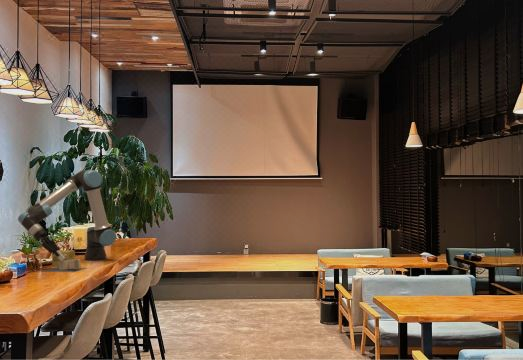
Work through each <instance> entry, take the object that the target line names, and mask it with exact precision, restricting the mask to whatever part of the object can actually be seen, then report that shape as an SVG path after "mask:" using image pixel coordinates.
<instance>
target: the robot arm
mask: <svg viewBox="0 0 523 360" xmlns="http://www.w3.org/2000/svg"><path fill="white" fill-rule="evenodd" d="M102 183H103V177H102V174H101V173H100V172H99V171H97V170H95V169H85V170H80V171H78V172H76V174H74V175H72V176H71V177H70V178H68V179H67V182H66V183H64V184H63V185H60V186H59V188H57V189H55V190H54V191H53V192H51V193H50V194H48V195H47V196H45V197H44V198H43V199H41V200H40V201H38V202H37V203H35V204H34V205H33V206H29V207H27V208H26V210H25V211H24V212H22V213H21V214H20V215H18V218H17V221H18V222H19V223H20V224H21V226H22V227H23V228H24V229H25V230H26V231H27V232H28V233H29V235H31V236H32V237H33V238H34V239H35V241H37V242H38V244H39V245H40V246H41V247H42V248H44V249H45V250H46V251H47V252H49V253H50V254H51V255H52V254H55V255H56V256H57V257H58V258H59V260H60V261H63V260H64V259H65V257H64V256H63V255H62V254H61V253H60V252H59V251H60V247H59V246H58V244H57V243H56V242H55V240H54V238H52V237H51V238H50V237H49V236H48V232H47V231H46V230H45V228H43V226H41V224H40V222H42V221H43V220H44V219H46V218H47V217H49V216H50V215H52V214H53V209H52V207H54V206H55V205H57V204H58V203H59V202H61V201H62V200H64V199H65V198H67V197H68V196H69V195H70V194H72V193H73V192H77V191H79V190H80V189H83V192H84V193H85V194H87V198H88V203H89V207H90V211H91V215H92V217H93V218H92V219H93V223H94V226H91V227H88V228H87V229H86V250H85V254H84V260H86V261H102V260H106V259H107V253H106V250H105V247H110V246H113V244H114V243H115V241H116V239H117V234H116V231H114V229H112V225H111V224H110V223H109V222H108V219H107V215H106V210H105V206H104V203H103V199H102V194H101V189H102V185H101V184H102Z"/></svg>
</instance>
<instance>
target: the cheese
mask: <svg viewBox="0 0 523 360" xmlns="http://www.w3.org/2000/svg"><path fill="white" fill-rule="evenodd" d="M59 252H60V253H61V254H62V255H63V256H64V257H65V259H64V260H63V261H66V260H75V259H76V251H75V250H73V249H71V250H66V249H65V250H63V249H61V250H59ZM51 256H52V257H51V266H52V267H58V262H60V260H59V258H58V257H57V256H56V255H55V254H52V253H51Z"/></svg>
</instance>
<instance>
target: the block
mask: <svg viewBox="0 0 523 360" xmlns="http://www.w3.org/2000/svg"><path fill="white" fill-rule="evenodd" d="M57 267H58V269H59V270H66V269H75V268H82V265H81V259H80V258H78V259H76V258H75V260H66V261H60V262H58V266H57Z"/></svg>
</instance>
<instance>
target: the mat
mask: <svg viewBox="0 0 523 360" xmlns="http://www.w3.org/2000/svg"><path fill="white" fill-rule="evenodd" d="M86 269H87V267H79V268H75V269H66V270H59V269H58V266H53V267H51V268H48V269H44V270H41V272H45V273H49V272H50V273H53V272H54V273H77V272H80V271H83V270H86Z"/></svg>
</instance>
